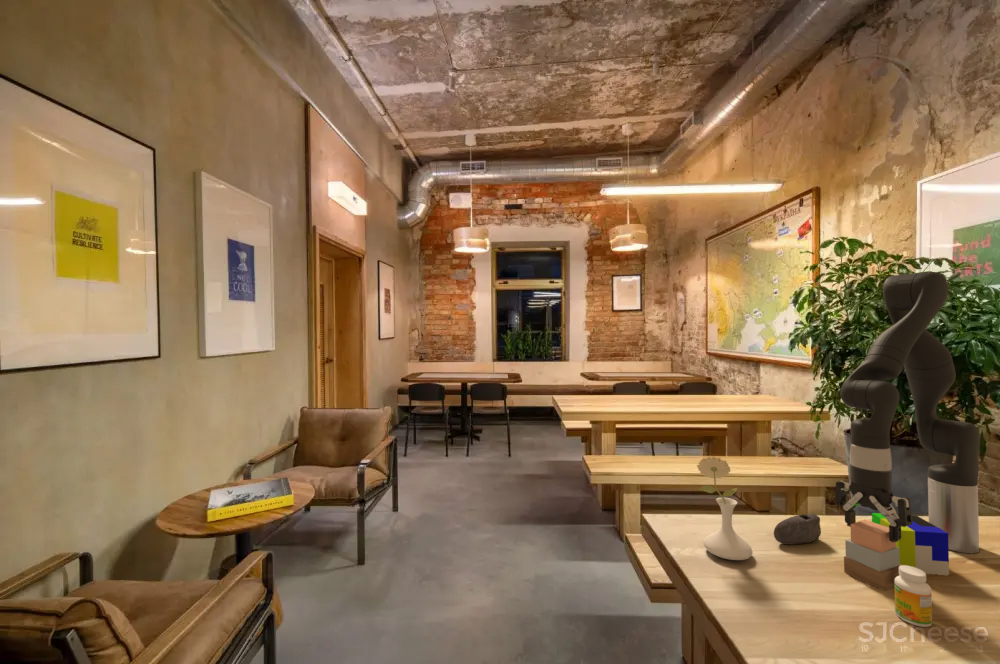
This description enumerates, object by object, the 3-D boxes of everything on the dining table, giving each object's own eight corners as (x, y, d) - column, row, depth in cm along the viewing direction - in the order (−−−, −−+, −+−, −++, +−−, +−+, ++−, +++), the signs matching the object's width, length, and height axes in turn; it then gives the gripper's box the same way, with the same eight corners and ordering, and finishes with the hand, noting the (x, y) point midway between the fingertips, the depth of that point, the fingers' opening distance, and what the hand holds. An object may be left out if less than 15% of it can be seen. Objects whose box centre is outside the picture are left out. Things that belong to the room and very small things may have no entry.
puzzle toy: (949, 575, 101) (948, 533, 101) (899, 571, 103) (898, 530, 103) (917, 554, 111) (916, 515, 111) (872, 551, 113) (871, 512, 113)
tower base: (864, 565, 106) (864, 549, 106) (904, 583, 99) (904, 565, 99) (844, 573, 103) (843, 556, 103) (884, 591, 96) (883, 573, 96)
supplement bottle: (887, 611, 89) (886, 564, 89) (911, 609, 90) (910, 562, 90) (914, 628, 84) (913, 578, 84) (940, 626, 84) (939, 577, 84)
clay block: (864, 536, 105) (864, 519, 105) (895, 546, 100) (895, 529, 100) (850, 541, 103) (850, 524, 103) (881, 552, 97) (881, 535, 97)
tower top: (865, 551, 106) (864, 534, 106) (899, 565, 99) (899, 548, 99) (845, 556, 103) (845, 539, 103) (879, 571, 97) (879, 553, 97)
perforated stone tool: (782, 550, 114) (781, 523, 114) (766, 540, 120) (765, 515, 120) (828, 543, 118) (828, 517, 118) (811, 534, 123) (810, 510, 123)
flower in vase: (757, 552, 113) (755, 457, 113) (746, 570, 105) (744, 467, 105) (705, 537, 122) (703, 448, 122) (690, 552, 114) (689, 458, 114)
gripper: (917, 471, 96) (919, 543, 96) (846, 454, 110) (847, 518, 110) (898, 476, 94) (899, 550, 94) (827, 458, 107) (828, 524, 107)
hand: (871, 533), depth 102 cm, fingers open, 8 cm apart
